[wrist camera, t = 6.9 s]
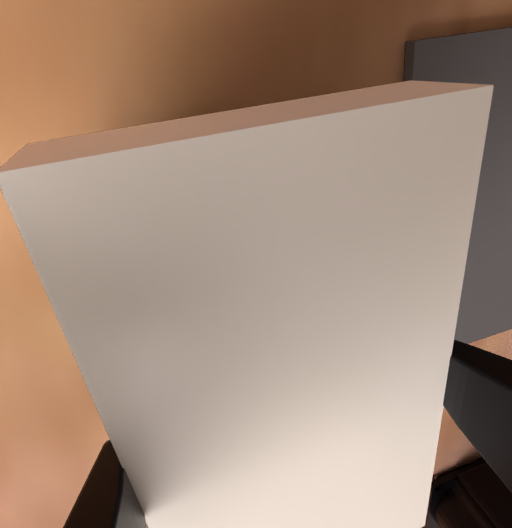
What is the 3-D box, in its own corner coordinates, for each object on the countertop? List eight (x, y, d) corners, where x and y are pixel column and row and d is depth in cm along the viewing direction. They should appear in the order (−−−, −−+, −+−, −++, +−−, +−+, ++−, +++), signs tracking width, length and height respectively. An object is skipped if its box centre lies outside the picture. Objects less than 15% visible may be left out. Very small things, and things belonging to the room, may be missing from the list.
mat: (537, 312, 23) (545, 317, 23) (387, 362, 21) (392, 369, 21) (620, 11, 16) (633, 10, 16) (405, 42, 14) (414, 41, 14)
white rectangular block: (386, 467, 13) (424, 525, 12) (181, 548, 12) (192, 628, 10) (410, 80, 8) (493, 85, 6) (27, 143, 6) (-7, 173, 5)
